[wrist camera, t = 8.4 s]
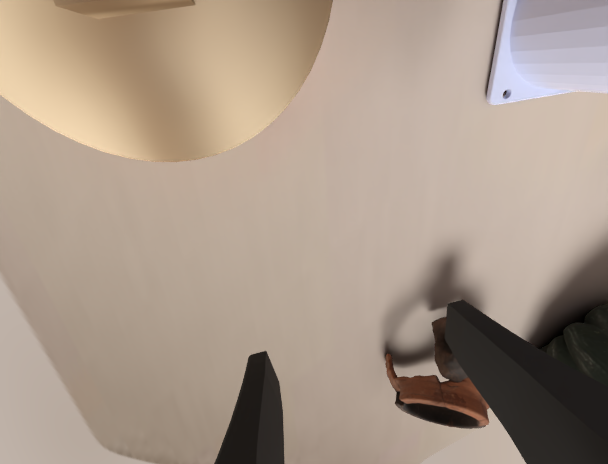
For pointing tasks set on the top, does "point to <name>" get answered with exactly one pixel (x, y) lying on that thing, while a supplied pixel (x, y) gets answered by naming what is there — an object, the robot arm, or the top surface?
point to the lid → (158, 69)
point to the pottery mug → (440, 390)
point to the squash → (584, 345)
